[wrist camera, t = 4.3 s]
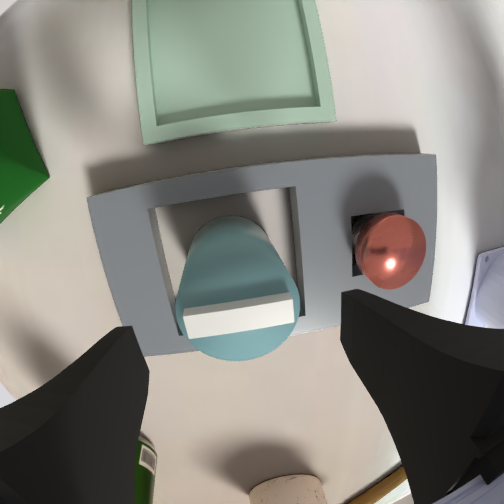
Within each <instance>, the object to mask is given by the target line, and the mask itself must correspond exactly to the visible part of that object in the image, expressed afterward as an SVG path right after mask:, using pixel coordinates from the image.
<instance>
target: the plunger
mask: <svg viewBox="0 0 504 504" xmlns="http://www.w3.org/2000/svg"><path fill="white" fill-rule="evenodd" d="M351 229H352V251H353V253H354V254H355V258H356V262H357V265H358V268H359V269H360V271H361V272H362V273H363V274H364V275H365V276H366V277H367V278H368V279H369V280H370V281H371V282H372V283H373V284H375V285H376V286H377V287H379V288H382V289H387V290H390V289H396V288H399V287H402V286H404V285H405V284H407V283H408V282H409V281H411V280H412V279H413V278H414V277H415V275H416V274H417V273H418V271H419V270H420V268H421V266H422V264H423V261H424V258H425V254H426V238H425V235H424V232H423V230H422V228H421V227H420V225H419V224H418V223H417V222H416V221H414V220H412V219H410V218H408V217H406V216H403V215H401V214H398V213H395V212H386V213H382V214H379V215H365V216H363V217H361V218H359V219H358V220H357V221H356V222H355V223H354V225H353V226H352V228H351Z"/></svg>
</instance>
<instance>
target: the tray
mask: <svg viewBox="0 0 504 504" xmlns="http://www.w3.org/2000/svg"><path fill="white" fill-rule="evenodd" d="M132 26H133V47H134V62H135V75H136V86H137V96H138V106H139V114H140V122H141V130H142V138H143V145H153V144H158V143H162V142H167V141H172V140H178V139H183V138H189V137H194V136H200V135H207V134H213V133H220V132H227V131H234V130H242V129H250V128H259V127H269V126H280V125H293V124H308V123H329V122H333V121H337V119H336V111H335V103H334V96H333V90H332V83H331V77H330V71H329V65H328V59H327V54H326V49H325V43H324V38H323V33H322V29H321V24H320V19H319V15H318V11H317V6H316V2H315V0H132Z"/></svg>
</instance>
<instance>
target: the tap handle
mask: <svg viewBox="0 0 504 504" xmlns="http://www.w3.org/2000/svg"><path fill="white" fill-rule="evenodd" d="M406 479H407V476H406V473H405V470H404V467H403V466H402V467H400V468H399V469H398V470H396V471H395V472H394V473H392V474H391V475H389V476H388V477H387V478H385V479H384V480H382V481H381V482H379V483H378V484H376V485H375V486H373V487H372V488H370V489H369V490H367V491H366V492H364V493H363V494H361V495H359V496H358V497H356V498H355V499H353V500H352V501H351V502H348V503H347V504H374V503H375V502H377V501H378V500H380V499H381V498H382V497H384V496H385V495H386V494H388V493H389V492H390V491H392V490H393V489H394V488H396V487H397V486H398V485H400V484H401V483H402V482H403V481H405V480H406Z"/></svg>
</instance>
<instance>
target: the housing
mask: <svg viewBox="0 0 504 504" xmlns="http://www.w3.org/2000/svg"><path fill="white" fill-rule="evenodd" d="M285 187H289V192H290V202H291V212H292V223H293V233H294V245H295V257H296V269H297V283H298V293H299V297H300V312H299V317H298V320H297V323H296V325H295V327H294V329H293V331H292V332H291V334H290V335H289V336H294V335H299V334H304V333H308V332H313V331H318V330H322V329H327V328H331V327H336V326H340V325H341V292H344V291H349V290H354V289H360V290H363V291H366V292H369V293H371V294H374V295H376V296H379V297H381V298H384V299H386V300H389V301H391V302H393V303H396V304H398V305H401V306H403V307H406V308H409V307H412V306H416V305H419V304H422V303H426V302H429V298H430V291H431V284H432V275H433V266H434V255H435V242H436V224H437V165H436V155H434V154H423V153H406V154H372V155H352V156H336V157H322V158H311V159H300V160H290V161H280V162H271V163H263V164H255V165H247V166H240V167H233V168H226V169H219V170H213V171H206V172H200V173H194V174H189V175H183V176H177V177H172V178H167V179H162V180H157V181H152V182H147V183H142V184H137V185H133V186H128V187H123V188H119V189H115V190H110V191H106V192H102V193H98V194H95V195H93V196H90V197H88V198H87V202H88V207H89V212H90V216H91V221H92V225H93V229H94V233H95V237H96V241H97V245H98V249H99V253H100V256H101V260H102V264H103V267H104V271H105V274H106V277H107V281H108V284H109V287H110V290H111V293H112V296H113V299H114V302H115V305H116V308H117V311H118V314H119V317H120V320H121V323H122V325H123V326H132V327H133V330H134V333H135V335H136V338H137V341H138V343H139V346H140V349H141V351H142V354H143V356H155V355H166V354H175V353H184V352H193V351H199V350H198V349H197V348H195V347H194V346H193V345H192V344H191V343H190V342H189V341H188V340H187V339H186V338H185V336H184V335H183V333H182V331H181V330H180V328H179V325H178V322H177V318H176V310H175V306H176V300H175V296H174V292H173V288H172V284H171V280H170V276H169V272H168V268H167V264H166V259H165V255H164V250H163V246H162V241H161V237H160V232H159V227H158V222H157V217H156V212H155V208H156V207H162V206H167V205H172V204H178V203H184V202H190V201H195V200H201V199H208V198H214V197H220V196H227V195H233V194H240V193H247V192H254V191H262V190H269V189H277V188H285ZM388 211H391V212H395V213H398V214H401V215H403V216H406V217H408V218H410V219H412V220H414V221H416V222H417V223H418V224H419V225H420V227H421V228H422V230H423V232H424V235H425V238H426V254H425V258H424V261H423V264H422V266H421V268H420V270H419V271H418V273H417V274H416V275H415V277H414V278H413V279H412V280H411V281H409V282H408V283H407V284H405V285H404V286H402V287H399V288H396V289H390V290H387V289H382V288H379V287H377V286H376V285H375V284H373V283H372V282H371V281H370V280H369V279H368V278H367V277H366V276H365V275H364V274H363V273H362V272H361V271H360V269H359V268H358V265H357V264H356V265H352V229H351V216H357V215H365V214H372V213H380V212H388Z"/></svg>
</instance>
